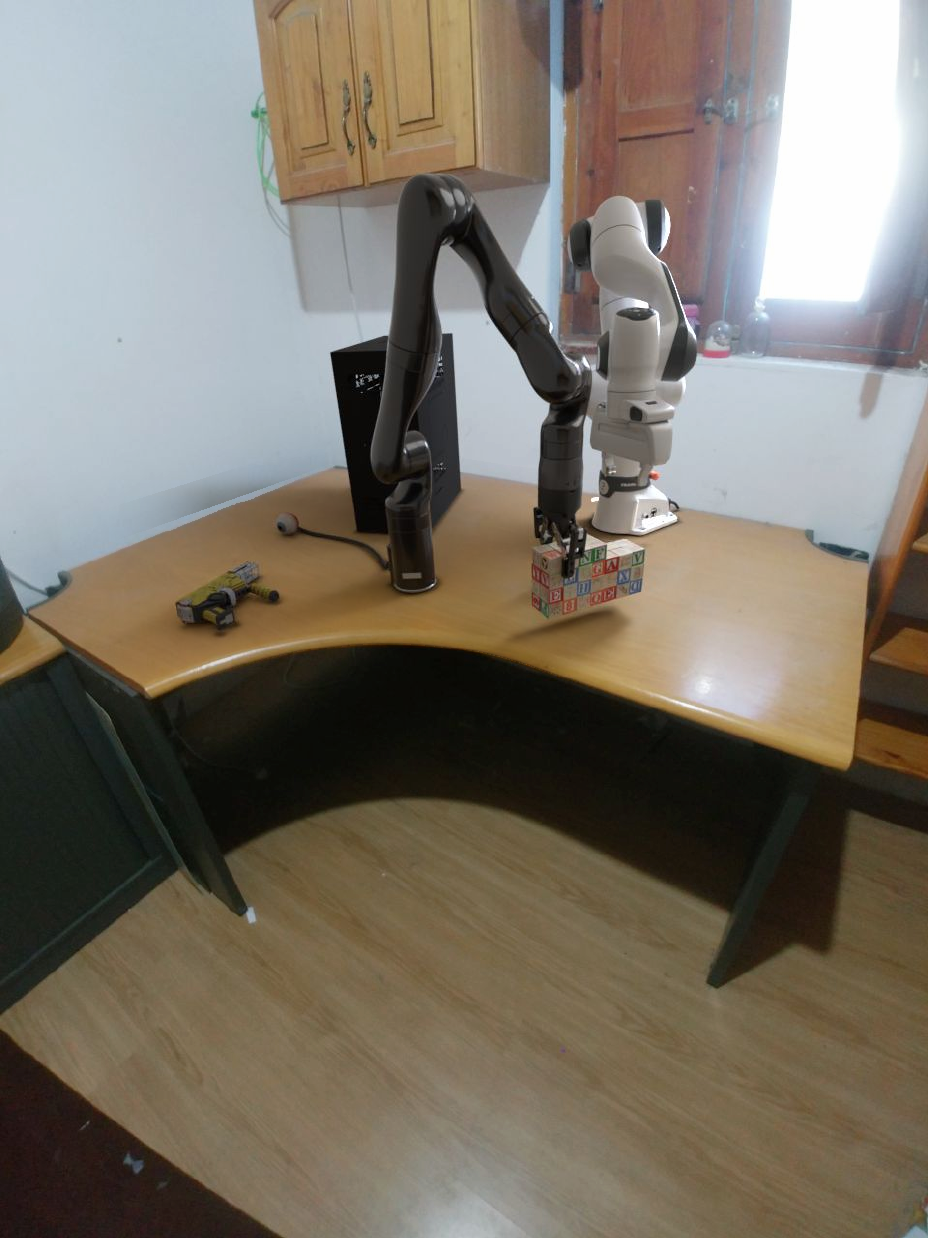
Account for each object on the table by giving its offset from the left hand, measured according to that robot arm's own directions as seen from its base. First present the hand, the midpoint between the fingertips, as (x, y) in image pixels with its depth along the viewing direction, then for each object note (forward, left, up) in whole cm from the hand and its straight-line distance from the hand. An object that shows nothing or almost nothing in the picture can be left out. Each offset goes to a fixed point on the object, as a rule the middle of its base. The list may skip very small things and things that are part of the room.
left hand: (557, 569), depth 111 cm
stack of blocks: (+3, +6, -8) cm, 11 cm away
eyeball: (-85, +6, -12) cm, 86 cm away
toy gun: (-62, -26, -12) cm, 69 cm away
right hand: (+3, +21, +11) cm, 24 cm away
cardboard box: (-67, +38, -12) cm, 78 cm away
